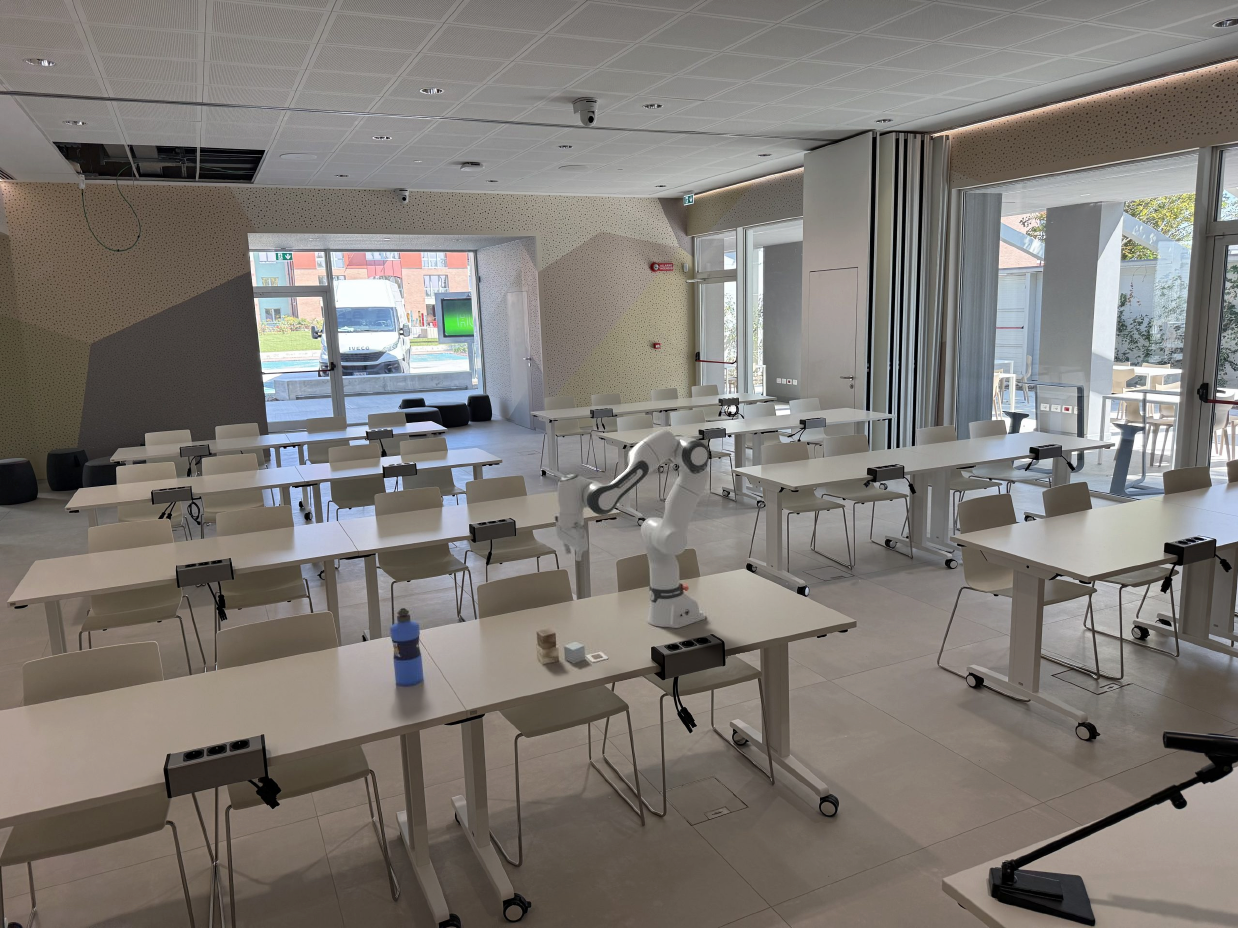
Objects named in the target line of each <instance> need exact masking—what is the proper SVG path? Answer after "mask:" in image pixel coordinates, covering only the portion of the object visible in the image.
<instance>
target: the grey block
mask: <svg viewBox="0 0 1238 928" xmlns="http://www.w3.org/2000/svg"><path fill="white" fill-rule="evenodd" d="M585 648H586V647H585V645H584V644H583V643H582V644H581V643H579V642H577V641H573V642H570V643H568V644H565V645H563V652H564V660H566V661H568V662H570V663H572V664H576V663H578V662H580V661H583V660H586V652H585V650H586V649H585Z"/></svg>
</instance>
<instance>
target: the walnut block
mask: <svg viewBox="0 0 1238 928" xmlns="http://www.w3.org/2000/svg"><path fill="white" fill-rule="evenodd" d="M536 643H537V645H538V646H539V647H540V648H541V649H543V650H545V649H549V648H553V647H556V645H557V636H556V632H555V630H553V629H551V628H545V629H544V628H543V629H540V630H537V631H536Z"/></svg>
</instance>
